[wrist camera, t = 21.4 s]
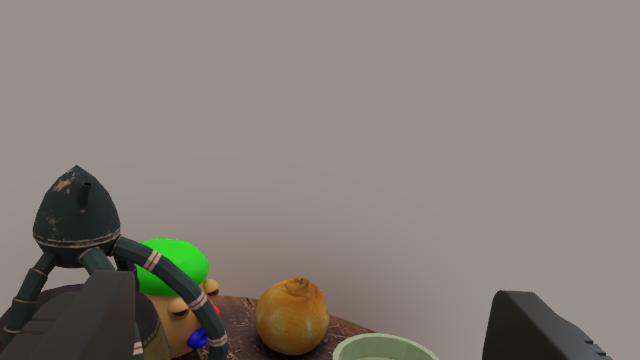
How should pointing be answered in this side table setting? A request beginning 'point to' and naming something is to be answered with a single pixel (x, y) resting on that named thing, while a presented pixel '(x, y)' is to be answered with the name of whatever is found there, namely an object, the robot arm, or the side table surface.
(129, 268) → the teapot
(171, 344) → the figurine
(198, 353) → the side table surface
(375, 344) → the bowl
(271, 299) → the fruit
